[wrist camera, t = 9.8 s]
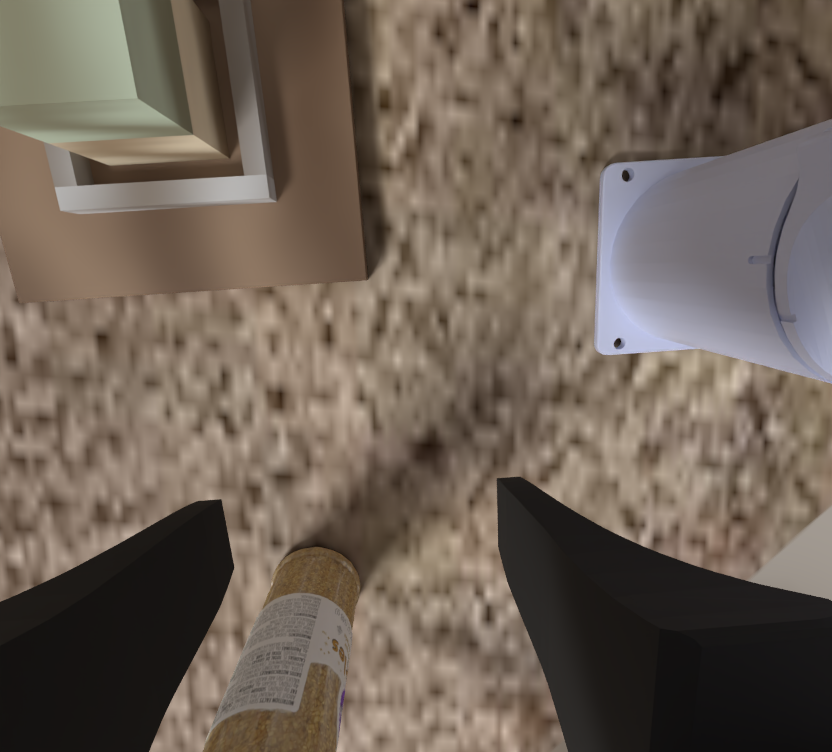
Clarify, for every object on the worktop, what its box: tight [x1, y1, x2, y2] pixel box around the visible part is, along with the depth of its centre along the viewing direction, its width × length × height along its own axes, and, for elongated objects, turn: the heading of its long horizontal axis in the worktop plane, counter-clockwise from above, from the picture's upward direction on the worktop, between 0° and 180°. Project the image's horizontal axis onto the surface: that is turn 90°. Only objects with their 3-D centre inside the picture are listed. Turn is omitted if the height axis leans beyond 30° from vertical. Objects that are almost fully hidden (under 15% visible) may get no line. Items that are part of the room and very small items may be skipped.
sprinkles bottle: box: [203, 547, 360, 752], centre depth 16 cm, size 5×5×14 cm
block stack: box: [0, 0, 230, 166], centre depth 13 cm, size 4×4×6 cm
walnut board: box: [0, 0, 368, 303], centre depth 16 cm, size 14×14×2 cm
